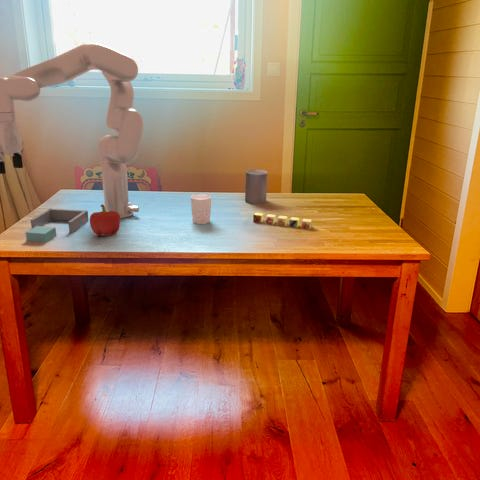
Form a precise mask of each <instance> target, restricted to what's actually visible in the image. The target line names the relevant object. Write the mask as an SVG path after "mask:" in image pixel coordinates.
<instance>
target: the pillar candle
mask: <svg viewBox="0 0 480 480" xmlns="http://www.w3.org/2000/svg"><path fill="white" fill-rule="evenodd" d="M267 187H268V171H267V170H264V169H259V168H256V169H254V168H253V169H247V170H246V171H245V187H244V189H245V190H244V191H245V192H244V194H245V196H244V198H245V199H244V201H245V203H247V204H251V205H262V204H264V203H266V202H267V192H268V191H267V189H268V188H267Z"/></svg>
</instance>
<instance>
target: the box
mask: <svg viewBox="0 0 480 480" xmlns="http://www.w3.org/2000/svg"><path fill="white" fill-rule="evenodd" d="M88 212H89V211H88V210H84V209H83V210H82V209H81V210H80V209H63V208H60V209H59V208H48V209H46V210H45V211H43V212H41V213H39V214H38V215H35V217H33V218H31V219H30V225H31V226H30V227H31V229H32V228H34V227H36V226H45V225H47V224H48V223H49V222H51V221H52V220H55V221H56V220H58V221H68V231H69V233H74V232H75V231H77V230H78V229H80V228H81V227H82V226H83V225H85V224H86V223H87V222H88V221H89V213H88Z"/></svg>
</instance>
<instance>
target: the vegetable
mask: <svg viewBox="0 0 480 480" xmlns="http://www.w3.org/2000/svg"><path fill="white" fill-rule="evenodd" d="M100 207H101V209H102V211H97V212H93V213H91V214H90V215H89V224H90V228H91V230H92V232H93V233H94V234H95V236H98V237H100V236H105V237H106V236H110V235H116V234H117V233H118V231H119V229H120V224H121V218H120V215H119V214H118V213H117V212H114V211H109V212H106V210H105V204H101V205H100Z"/></svg>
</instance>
